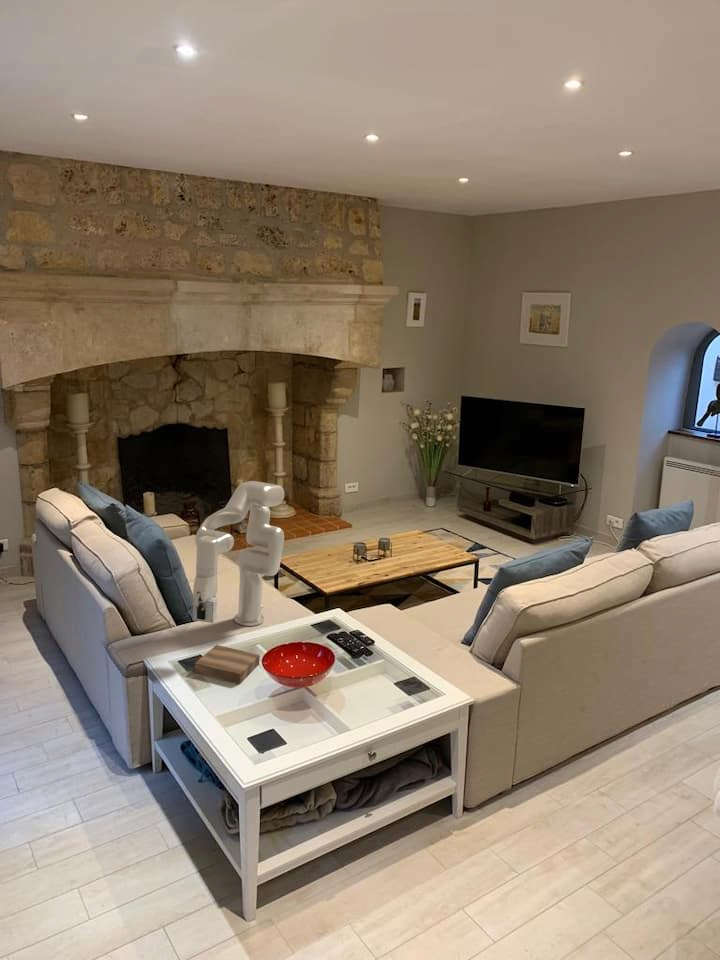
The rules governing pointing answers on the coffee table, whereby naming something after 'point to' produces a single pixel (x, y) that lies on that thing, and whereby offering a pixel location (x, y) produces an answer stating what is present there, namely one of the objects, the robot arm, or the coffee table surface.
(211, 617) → the medicine box
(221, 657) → the wooden block
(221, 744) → the coffee table surface
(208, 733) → the coffee table surface
